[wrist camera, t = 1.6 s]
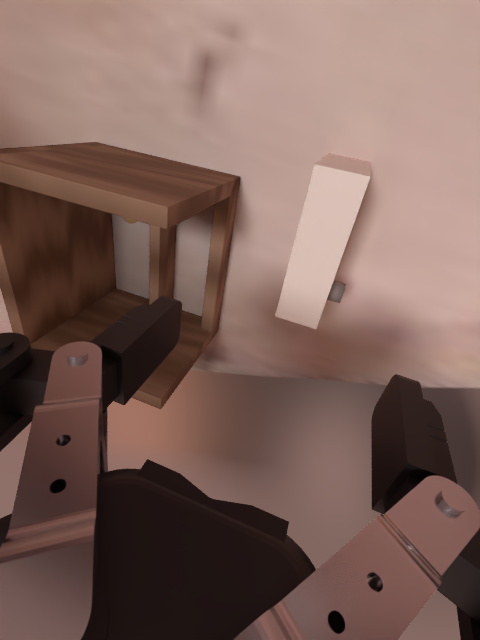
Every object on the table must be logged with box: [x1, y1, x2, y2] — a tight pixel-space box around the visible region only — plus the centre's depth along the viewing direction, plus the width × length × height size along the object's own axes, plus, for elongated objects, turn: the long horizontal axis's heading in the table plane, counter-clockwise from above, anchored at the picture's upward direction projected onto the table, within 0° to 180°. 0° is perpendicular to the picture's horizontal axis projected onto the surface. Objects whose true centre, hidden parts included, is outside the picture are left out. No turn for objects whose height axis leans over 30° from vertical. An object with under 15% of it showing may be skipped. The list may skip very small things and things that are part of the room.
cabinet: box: [0, 142, 240, 409], centre depth 28 cm, size 16×14×12 cm
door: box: [275, 153, 371, 329], centre depth 23 cm, size 10×4×8 cm, turn 171°
